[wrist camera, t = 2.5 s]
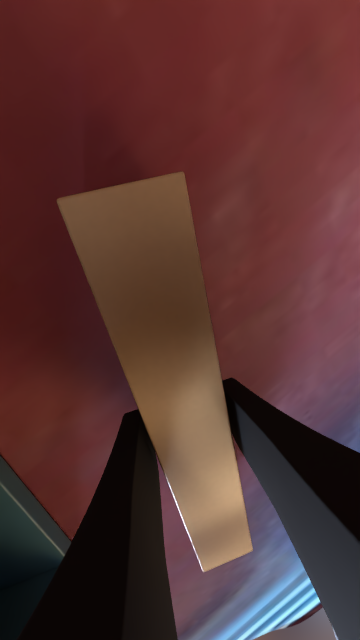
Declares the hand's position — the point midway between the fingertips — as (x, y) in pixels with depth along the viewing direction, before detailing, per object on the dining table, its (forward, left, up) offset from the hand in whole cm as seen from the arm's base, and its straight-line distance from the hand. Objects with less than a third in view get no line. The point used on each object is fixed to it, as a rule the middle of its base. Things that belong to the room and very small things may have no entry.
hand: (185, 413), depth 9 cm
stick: (0, 0, -1) cm, 1 cm away
